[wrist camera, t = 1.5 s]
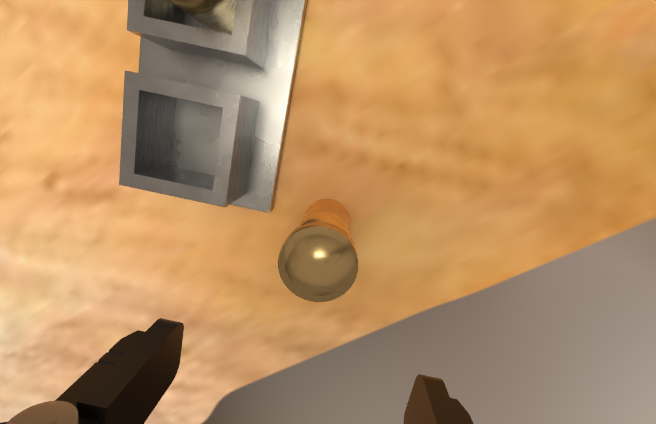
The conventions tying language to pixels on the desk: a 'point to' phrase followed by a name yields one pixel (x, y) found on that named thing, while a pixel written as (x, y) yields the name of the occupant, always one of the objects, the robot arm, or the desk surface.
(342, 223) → the brass stub
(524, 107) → the desk surface
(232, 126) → the grey double holder
